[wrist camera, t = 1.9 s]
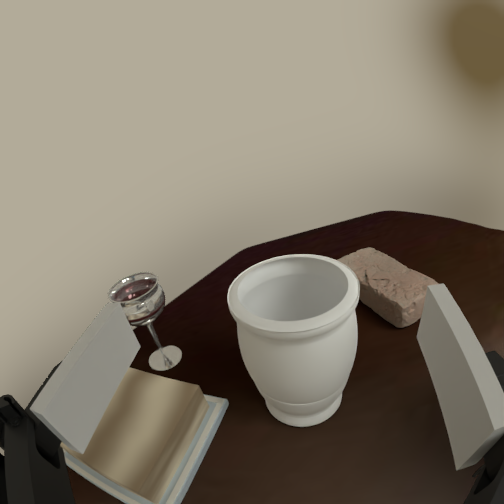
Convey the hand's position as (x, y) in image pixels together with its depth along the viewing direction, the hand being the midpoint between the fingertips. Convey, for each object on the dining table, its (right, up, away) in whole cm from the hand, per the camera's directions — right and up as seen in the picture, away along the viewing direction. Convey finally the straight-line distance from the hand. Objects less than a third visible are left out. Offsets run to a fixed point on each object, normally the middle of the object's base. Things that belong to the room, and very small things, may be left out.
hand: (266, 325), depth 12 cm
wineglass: (-13, -12, +27) cm, 32 cm away
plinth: (-13, -18, +15) cm, 26 cm away
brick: (+20, -4, +31) cm, 37 cm away
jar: (+5, -13, +18) cm, 23 cm away
